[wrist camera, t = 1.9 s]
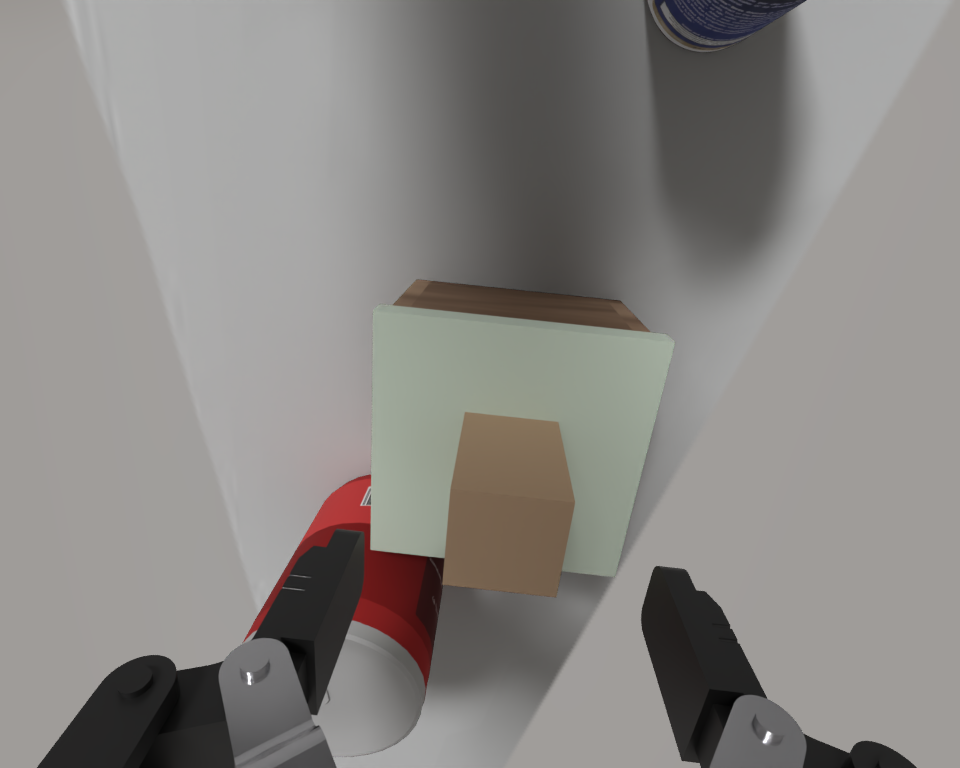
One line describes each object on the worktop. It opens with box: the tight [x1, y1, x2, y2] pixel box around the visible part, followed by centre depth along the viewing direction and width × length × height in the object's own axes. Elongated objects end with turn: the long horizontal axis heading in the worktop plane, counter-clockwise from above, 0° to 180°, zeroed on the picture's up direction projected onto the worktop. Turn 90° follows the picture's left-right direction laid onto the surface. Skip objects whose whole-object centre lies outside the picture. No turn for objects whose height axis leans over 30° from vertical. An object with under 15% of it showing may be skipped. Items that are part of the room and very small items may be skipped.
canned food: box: [242, 475, 445, 757], centre depth 25 cm, size 8×8×11 cm
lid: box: [370, 304, 675, 597], centre depth 17 cm, size 10×10×6 cm
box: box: [393, 280, 650, 332], centre depth 23 cm, size 10×10×6 cm
